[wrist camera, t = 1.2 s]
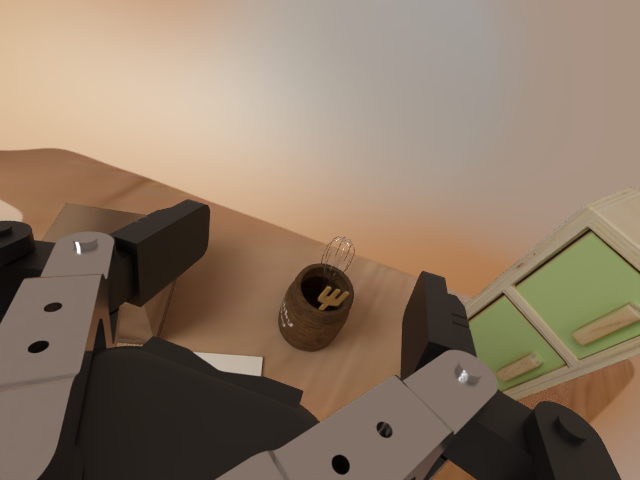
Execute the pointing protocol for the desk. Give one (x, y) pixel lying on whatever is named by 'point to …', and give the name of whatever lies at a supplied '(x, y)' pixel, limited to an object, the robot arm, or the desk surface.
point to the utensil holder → (316, 305)
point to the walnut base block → (78, 218)
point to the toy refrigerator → (565, 301)
